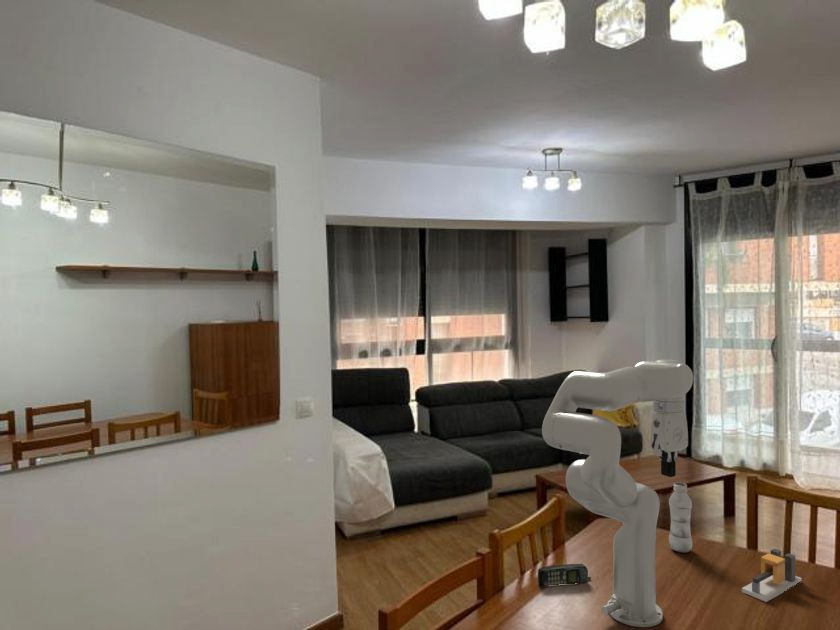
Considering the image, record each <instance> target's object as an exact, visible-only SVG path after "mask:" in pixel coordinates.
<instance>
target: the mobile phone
mask: <svg viewBox="0 0 840 630" xmlns="http://www.w3.org/2000/svg"><path fill="white" fill-rule="evenodd" d="M588 570H589V569H588V568H587V567H586V565H584V564H583V563H567V564H558V565H547V566H542V567H539V568H538V569H537V584H538V583H539V584H538V586H539V585H540V586H549V585H559V584H575V583H580V584H582V583H585V582H586V581H588V580H587V579H589V580H591V579H592V577H591V576H589V571H588ZM540 586H539V587H540Z"/></svg>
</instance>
